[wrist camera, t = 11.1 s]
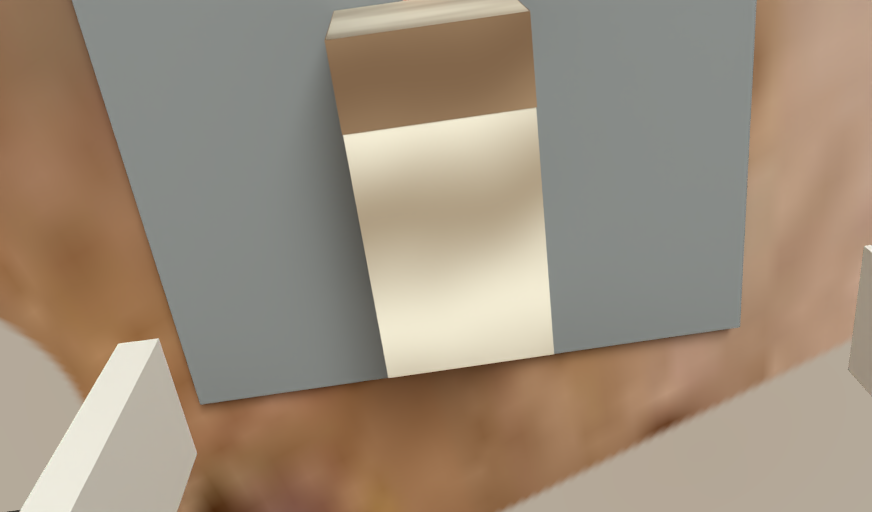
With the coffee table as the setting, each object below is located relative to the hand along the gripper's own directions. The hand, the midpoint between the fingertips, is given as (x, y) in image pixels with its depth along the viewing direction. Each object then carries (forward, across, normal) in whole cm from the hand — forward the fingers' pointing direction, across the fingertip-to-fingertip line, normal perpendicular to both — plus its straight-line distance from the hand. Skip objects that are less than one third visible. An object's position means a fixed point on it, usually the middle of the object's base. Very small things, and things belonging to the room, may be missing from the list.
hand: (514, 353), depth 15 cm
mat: (+12, +1, 0) cm, 12 cm away
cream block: (+12, +1, 0) cm, 12 cm away
